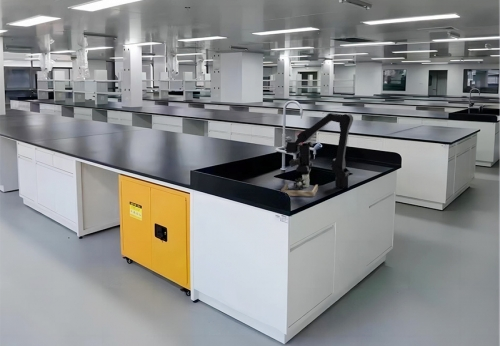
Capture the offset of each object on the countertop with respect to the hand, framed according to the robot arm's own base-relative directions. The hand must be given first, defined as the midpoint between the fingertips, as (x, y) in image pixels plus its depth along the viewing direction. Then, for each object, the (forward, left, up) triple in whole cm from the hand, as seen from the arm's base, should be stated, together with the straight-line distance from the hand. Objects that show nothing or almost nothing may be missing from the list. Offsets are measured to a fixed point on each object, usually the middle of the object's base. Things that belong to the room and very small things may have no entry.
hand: (305, 181), depth 242 cm
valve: (0, +8, -2) cm, 8 cm away
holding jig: (0, +18, -2) cm, 18 cm away
